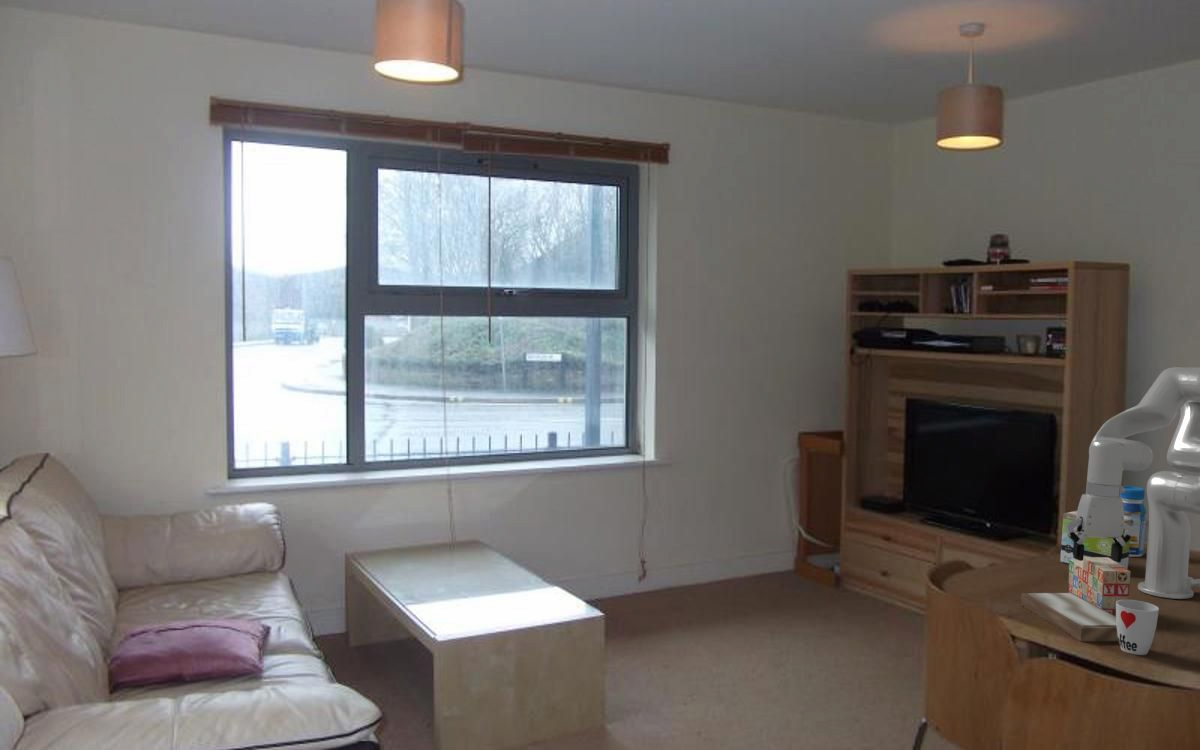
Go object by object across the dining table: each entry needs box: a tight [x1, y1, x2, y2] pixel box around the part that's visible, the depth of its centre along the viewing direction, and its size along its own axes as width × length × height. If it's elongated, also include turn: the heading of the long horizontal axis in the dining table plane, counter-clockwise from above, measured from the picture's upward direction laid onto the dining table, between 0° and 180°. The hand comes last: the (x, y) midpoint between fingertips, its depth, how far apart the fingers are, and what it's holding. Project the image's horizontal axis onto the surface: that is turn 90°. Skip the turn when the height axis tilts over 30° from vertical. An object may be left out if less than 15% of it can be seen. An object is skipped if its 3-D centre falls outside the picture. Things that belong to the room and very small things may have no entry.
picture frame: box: [1020, 592, 1119, 642], centre depth 234 cm, size 13×26×3 cm, turn 5°
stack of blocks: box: [1068, 557, 1131, 616], centre depth 247 cm, size 21×6×12 cm, turn 175°
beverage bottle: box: [1120, 485, 1147, 558], centre depth 300 cm, size 8×8×20 cm
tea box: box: [1060, 510, 1131, 570], centre depth 285 cm, size 15×10×15 cm
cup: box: [1116, 599, 1160, 656], centre depth 215 cm, size 8×8×10 cm
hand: (1096, 560), depth 245 cm, fingers open, 9 cm apart
